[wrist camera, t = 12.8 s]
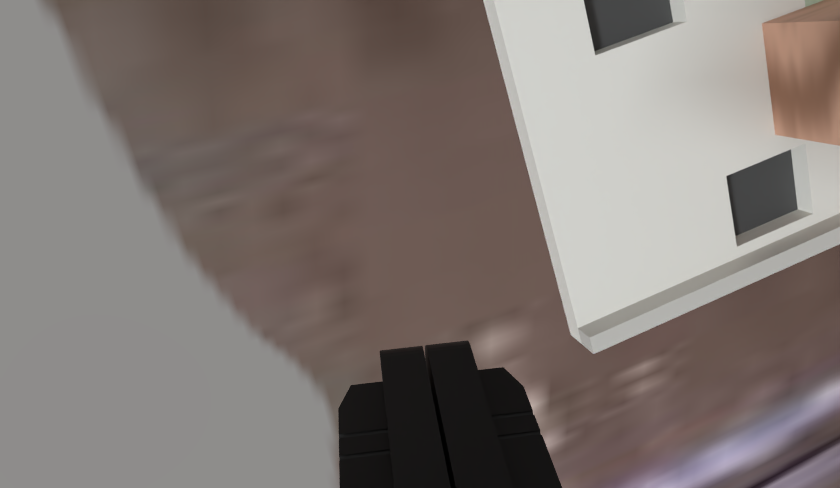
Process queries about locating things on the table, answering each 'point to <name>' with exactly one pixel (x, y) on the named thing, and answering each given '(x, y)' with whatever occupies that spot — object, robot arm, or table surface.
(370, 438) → the robot arm
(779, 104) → the terracotta block
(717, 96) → the box
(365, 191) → the table surface
